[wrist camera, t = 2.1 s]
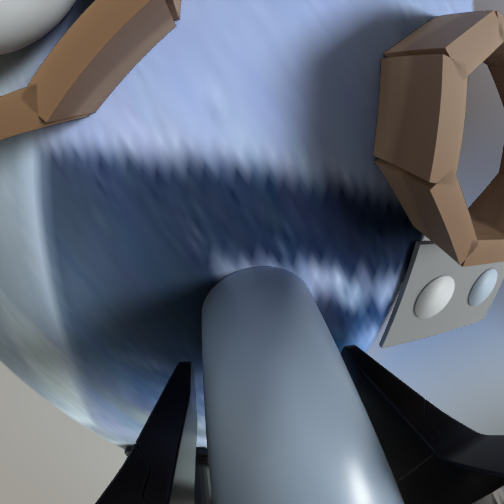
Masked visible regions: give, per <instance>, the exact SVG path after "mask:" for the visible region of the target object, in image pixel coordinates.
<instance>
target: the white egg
mask: <svg viewBox="0 0 504 504" xmlns="http://www.w3.org/2000/svg"><path fill="white" fill-rule="evenodd" d="M75 2H76V0H0V55H2V54H7V53H11V52H14V51H17V50H20V49H22V48H24V47H26V46H28V45H31V44H32V43H34V42H36V41H37V40H39V39H40V38H42V37H43V36H44V35H46V34H47V33H48V32H50V31H51V30H52V29H53V28H54V27H55V26H56V25H57V24H58V23H59V22H60V21H61V20H62V19H63V18H64V17H65V16H66V14H67V13H68V12H69V11H70V9H71V8H72V6H73V5H74V3H75Z"/></svg>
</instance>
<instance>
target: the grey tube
mask: <svg viewBox="0 0 504 504" xmlns="http://www.w3.org/2000/svg"><path fill="white" fill-rule="evenodd" d="M202 355H203V382H204V403H205V421H206V436H207V450H208V462H209V473H210V484H211V494H212V503H213V504H404V501H403V498H402V496H401V493H400V491H399V488H398V486H397V483H396V481H395V478H394V476H393V473H392V471H391V468H390V466H389V464H388V461H387V459H386V456H385V454H384V452H383V449H382V447H381V444H380V442H379V440H378V437H377V435H376V433H375V430H374V428H373V426H372V423H371V421H370V419H369V417H368V414H367V412H366V410H365V407H364V405H363V403H362V401H361V398H360V396H359V394H358V392H357V390H356V387H355V385H354V383H353V381H352V379H351V376H350V374H349V372H348V370H347V368H346V365H345V363H344V361H343V359H342V357H341V355H340V353H339V350H338V348H337V346H336V344H335V342H334V340H333V338H332V336H331V333H330V331H329V329H328V327H327V325H326V323H325V321H324V319H323V317H322V315H321V313H320V311H319V308H318V306H317V304H316V302H315V300H314V298H313V296H312V294H311V292H310V290H309V288H308V287H307V285H306V284H305V282H304V281H303V280H302V279H301V278H299V277H298V276H297V275H295V274H293V273H292V272H290V271H287V270H284V269H281V268H277V267H252V268H248V269H244V270H241V271H238V272H235V273H233V274H231V275H229V276H227V277H226V278H224V279H222V280H221V281H220V282H219V283H217V284H216V285H215V286H214V287H213V288H212V289H211V291H210V292H209V293H208V295H207V297H206V299H205V300H204V303H203V307H202Z"/></svg>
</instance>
